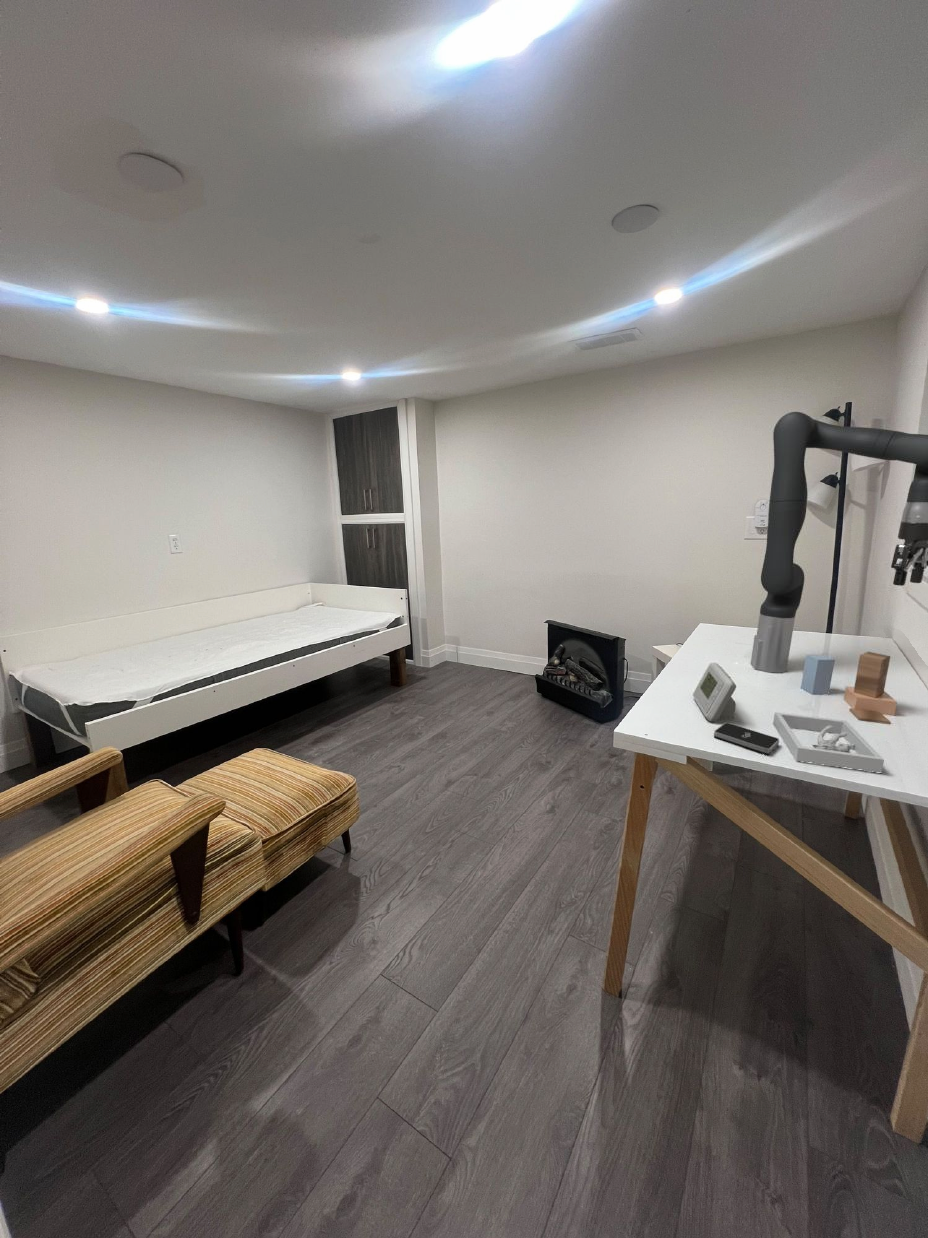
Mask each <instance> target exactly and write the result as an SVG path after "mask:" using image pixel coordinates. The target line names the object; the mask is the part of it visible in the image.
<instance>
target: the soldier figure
mask: <svg viewBox="0 0 928 1238" xmlns="http://www.w3.org/2000/svg"><path fill="white" fill-rule="evenodd" d="M831 727H833V726H831V725H830V726H827V727H826V728H824V729H823V730H822V731H821V732H820V733H819V734H818V735H817V744H811V746H812V748H818V749H825V750H832V751H839V752H847V753H848V751H849V749H853V747H854V746H855V744H849V743H847V744H843V745H840V746H837V745H836V744H837V742H839V741H840V739H841V738H843V737H845V736H846V735H847V733H846V732H844V733H841V734H834V735H832V736H831V738H829V739H824V737H825V735H826V733H827V730H832V729H830V728H831Z"/></svg>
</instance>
